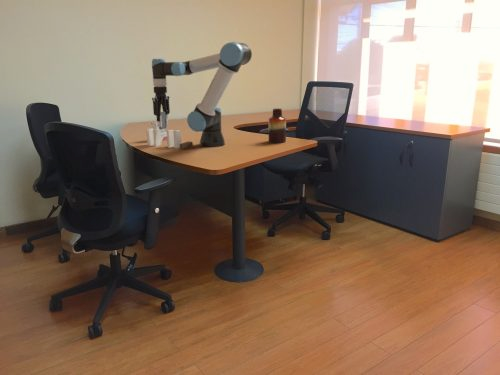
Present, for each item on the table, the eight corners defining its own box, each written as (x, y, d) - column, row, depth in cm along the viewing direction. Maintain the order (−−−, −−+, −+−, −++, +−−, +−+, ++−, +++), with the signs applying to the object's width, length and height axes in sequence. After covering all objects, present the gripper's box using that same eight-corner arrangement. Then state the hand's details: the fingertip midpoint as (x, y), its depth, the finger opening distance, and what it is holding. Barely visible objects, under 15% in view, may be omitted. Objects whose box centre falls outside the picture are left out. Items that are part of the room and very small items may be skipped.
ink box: (162, 139, 281) (161, 121, 278) (167, 139, 278) (166, 121, 274) (152, 141, 274) (150, 122, 271) (157, 141, 271) (155, 123, 268)
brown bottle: (270, 143, 260) (270, 110, 254) (267, 140, 270) (267, 108, 264) (287, 142, 262) (287, 109, 256) (283, 139, 272) (283, 107, 266)
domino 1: (154, 144, 263) (153, 128, 260) (149, 145, 259) (148, 129, 256) (152, 144, 264) (151, 128, 261) (147, 145, 259) (146, 129, 256)
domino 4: (174, 146, 257) (173, 129, 254) (169, 147, 252) (168, 130, 249) (172, 145, 257) (171, 129, 254) (167, 147, 253) (166, 130, 250)
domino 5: (181, 146, 254) (180, 130, 252) (176, 148, 250) (175, 131, 247) (179, 146, 255) (178, 129, 252) (174, 147, 251) (173, 131, 248)
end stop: (192, 146, 253) (192, 141, 252) (184, 149, 246) (183, 144, 245) (188, 146, 255) (188, 141, 254) (179, 149, 247) (179, 144, 246)
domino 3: (166, 128, 256) (165, 111, 253) (161, 129, 251) (160, 112, 249) (164, 128, 256) (163, 111, 254) (159, 129, 252) (158, 112, 249)
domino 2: (161, 144, 261) (160, 128, 258) (156, 146, 256) (155, 129, 254) (159, 144, 261) (158, 128, 259) (154, 146, 257) (152, 129, 254)
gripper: (164, 85, 256) (166, 123, 263) (144, 86, 241) (148, 127, 247) (174, 85, 253) (176, 124, 260) (155, 87, 237) (158, 128, 244)
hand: (162, 125), depth 253 cm, fingers closed on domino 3, 5 cm apart
